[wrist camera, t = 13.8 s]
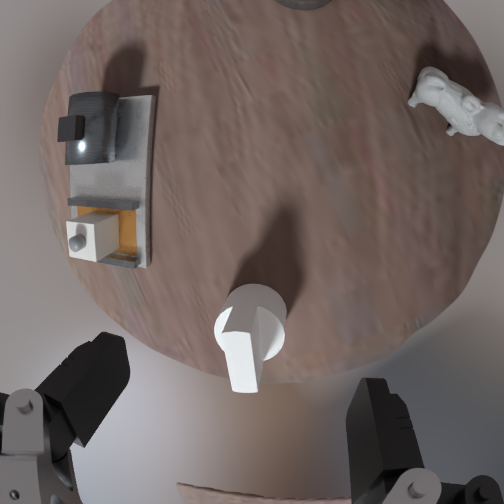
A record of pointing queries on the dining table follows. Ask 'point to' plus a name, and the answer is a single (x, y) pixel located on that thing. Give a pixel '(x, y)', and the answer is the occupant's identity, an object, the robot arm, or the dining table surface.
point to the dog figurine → (458, 106)
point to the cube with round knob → (93, 235)
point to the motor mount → (112, 166)
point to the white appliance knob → (250, 332)
